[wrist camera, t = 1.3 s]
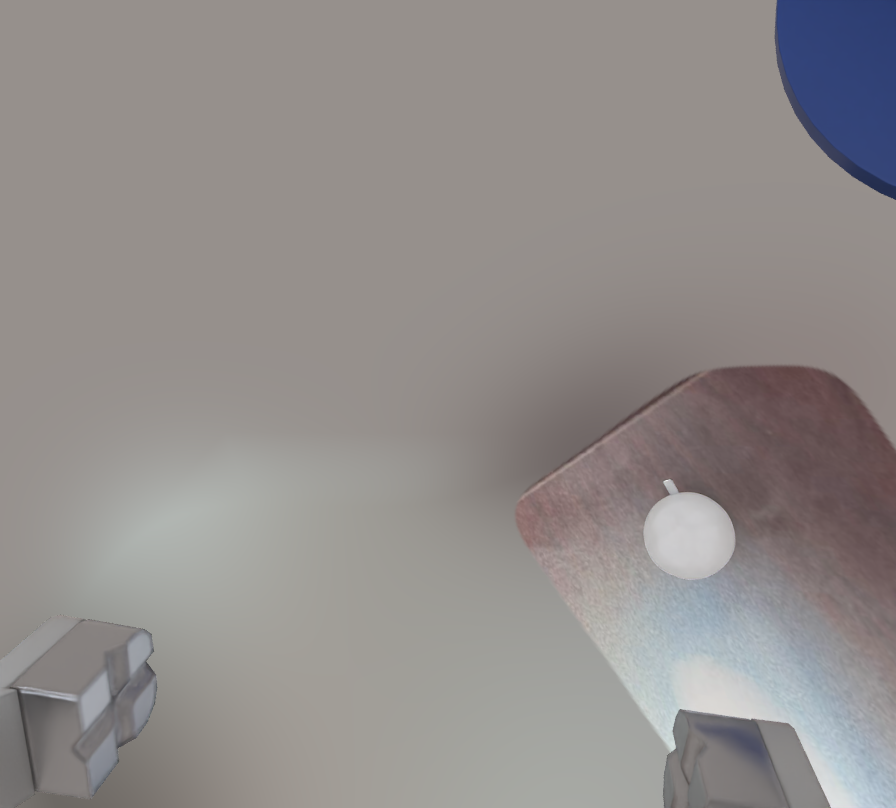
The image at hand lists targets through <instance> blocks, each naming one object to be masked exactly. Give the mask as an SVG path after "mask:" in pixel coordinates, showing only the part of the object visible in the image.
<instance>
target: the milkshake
mask: <svg viewBox="0 0 896 808" xmlns="http://www.w3.org/2000/svg"><path fill="white" fill-rule="evenodd" d="M663 483H664V485H665V487H666V489H667V490H668V492H669V494H670V495H669V496H667V497H665V498H663V499H661V500H660V501H658V502H657V503H656V504H655V505H654V506H653V507H652V509H651V510H650V512H649V513H648V515H647V518H646V520H645V524H644V530H643V534H644V541H645V546H646V549H647V552H648V554H649V556H650V557H651V559H652V560H653V562H654V563H655V564H656V565H657V566H658V567H659V568H660V569H661V570H663V571H664V572H666V573H668V574H670V575H673V576H675V577H678V578H681V579H686V580H697V579H703V578H706V577H709V576H712V575H714V574H715V573H717V572H718V571H720V570H721V569H722V568H723V567H724V566H725V565H726V564H727V563H728V561H729V560H730V558H731V556H732V554H733V552H734V549H735V532H734V528H733V524H732V522H731V519H730V517H729V515H728V514H727V512H726V511H725V510H724V509H723V508H722V507H721V506H720V505H719V504H717V503H716V502H715V501H713V500H712V499H710V498H709V497H707V496H704V495H702V494H699V493H693V492H681V493H679V492H678V490H677V488H676V486H675V484H674V482H673V481H672V479H668V480H664V481H663Z"/></svg>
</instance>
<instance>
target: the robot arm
mask: <svg viewBox="0 0 896 808" xmlns="http://www.w3.org/2000/svg"><path fill="white" fill-rule="evenodd" d="M153 652H154V649H153V642H152V634H151V633H149V632H148V631H147V630H145V629H141V628H136V627H130V626H124V625H118V624H113V623H107V622H101V621H95V620H90V619H88V620H85V619H81V618H75V617H69V616H64V615H57V616H54V617H50V618H49V619H47V620H46V621H45V622H44V623H43V624H42V625H40V626H39V627H38V628H37V629H36V630H35V631H34V632H32V633H31V634H30V635H29V636H28V637H27V638H25V639H24V640H23V641H22V642H21V643H20V644H19V645H17V646H16V647H15V648H14V649H13V650H12V651H10V652H9V653H8V654H7V655H6V656H5V657H4V658H3V659H1V660H0V808H15V807H17V806H18V805H20V804H21V803H23V802H25V801H26V800H28V799H29V798H30V797H32V796H34V795H35V791H37V792H44V793H51V794H58V795H65V796H71V797H78V798H85V799H91V798H92V797H93V796H94V794H95V793H96V792H97V790H98V789H99V788H100V786H101V785H102V784H103V782H104V781H105V780H106V778H107V777H108V775H109V774H110V772H112V770H113V769H114V768H115V766H116V765H117V764H118V762H119V758H118V748H119V747H121V746H123V745H125V744H126V743H128V742H130V741H132V740H133V739H135V738H137V736H138V735H139V734H140V732H141V731H142V729H143V728H144V726H145V725H146V724H147V722H148V719H149V717H150V714H151V712H152V709H153V707H154V704H155V699H156V692H157V680H156V674H155V673H154V671H153V670H152V669H151V667H150V666H149V665H148V664H147V662H146V661H147V659H148V658H149V657H150V656H151V654H152V653H153ZM673 735H674V739H675V744H676V749H675V750H674V751H672V752H671V753H670V754H668V755H667V761H666V766H665V772H664V788H663V796H664V797H663V798H664V808H831V807H830V805H829V803H828V801H827V798H826V796H825V794H824V792H823V790H822V788H821V785H820V783H819V781H818V779H817V777H816V775H815V772H814V770H813V768H812V766H811V764H810V762H809V759H808V757H807V755H806V753H805V751H804V749H803V746H802V744H801V742H800V740H799V738H798V736H797V734H796V731H795V729H794V728H793V727H792V726H791V725H789V724H788V723H781V722H773V721H765V720H757V719H751V720H749V719H744V718H737V717H730V716H723V715H716V714H709V713H702V712H695V711H688V710H681V709H680V710H679V712H678V714H677V716H676V719H675V723H674V727H673Z"/></svg>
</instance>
